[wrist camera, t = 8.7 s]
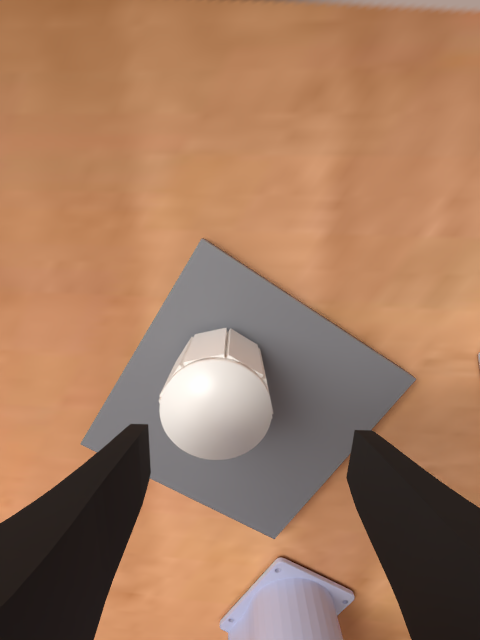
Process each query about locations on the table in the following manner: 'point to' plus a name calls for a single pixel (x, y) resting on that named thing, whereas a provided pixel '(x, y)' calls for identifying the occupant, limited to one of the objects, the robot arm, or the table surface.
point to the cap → (217, 396)
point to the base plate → (283, 383)
